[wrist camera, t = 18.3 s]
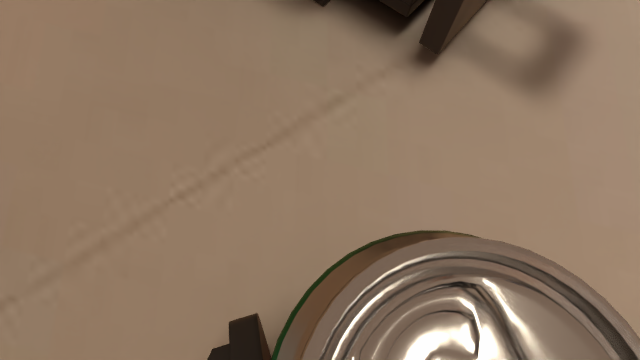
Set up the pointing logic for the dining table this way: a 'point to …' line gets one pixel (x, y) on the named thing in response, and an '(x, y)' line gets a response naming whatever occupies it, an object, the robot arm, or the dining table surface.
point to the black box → (322, 2)
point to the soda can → (452, 306)
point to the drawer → (439, 19)
